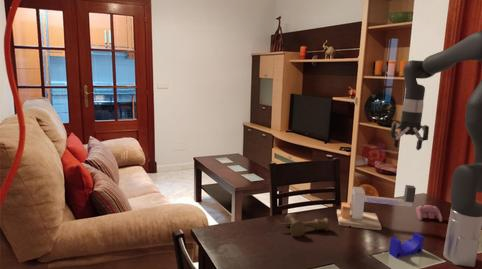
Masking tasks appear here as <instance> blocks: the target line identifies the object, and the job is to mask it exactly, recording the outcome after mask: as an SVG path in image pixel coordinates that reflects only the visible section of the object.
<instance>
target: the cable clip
mask: <svg viewBox="0 0 482 269" xmlns="http://www.w3.org/2000/svg"><path fill="white" fill-rule="evenodd" d="M424 240H425V237H424V236H423V235H422V234H419V233H418V232H415V233H413V235H412V238H409V239H406V240H405V241H404V242H403V243H402V241H401V240H399V239H398V238H397V237H391V238H390V242H389V243H390V244H389V250H388V254H389V255H390V256H392V257H393V258H394V259H397V258H403V257H407V256H410V255H414V254H415V255H417V254H420V253H423V246H424Z"/></svg>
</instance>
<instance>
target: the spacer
mask: <svg viewBox="0 0 482 269" xmlns="http://www.w3.org/2000/svg"><path fill="white" fill-rule="evenodd" d="M340 206H341V207H340V210H341V214H342V218H345V219H349V217H350V208H351V207H350V206H351V203H349V202H345V201H343V202H341V205H340Z"/></svg>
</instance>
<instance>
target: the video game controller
mask: <svg viewBox="0 0 482 269" xmlns="http://www.w3.org/2000/svg"><path fill="white" fill-rule="evenodd" d="M415 211H416V212H415V213H416V216H417V219H418V220H419V221H422V220H423V219H426V218H427V217H428V218H429V219H432V220H433V219H435V217H436V219H437V220H438V222H443V215H442V213H441V211H440V209H439V208H438V206H435V205H432V204H421V205H418V206H417V207H415ZM427 213H428V214H427Z"/></svg>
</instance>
